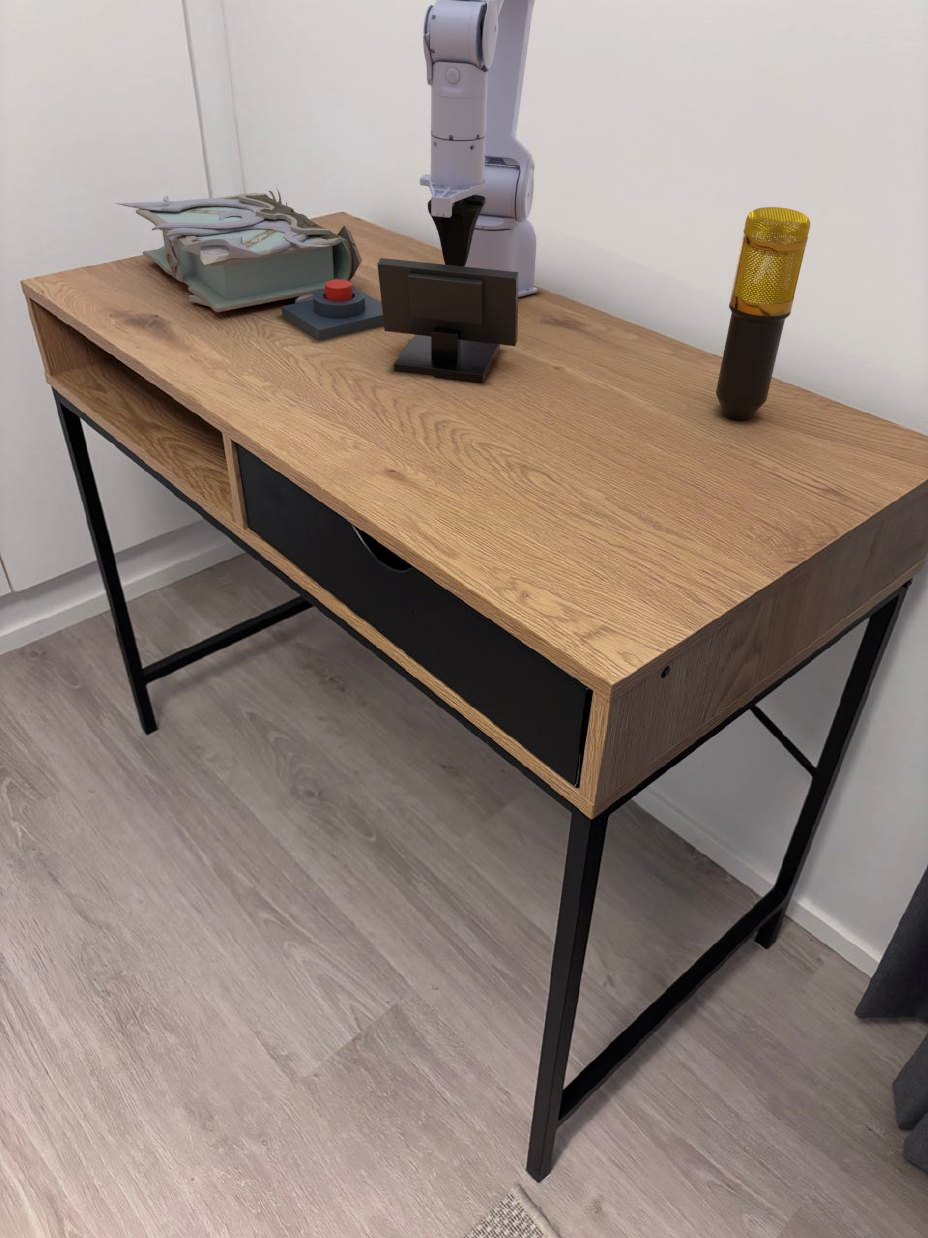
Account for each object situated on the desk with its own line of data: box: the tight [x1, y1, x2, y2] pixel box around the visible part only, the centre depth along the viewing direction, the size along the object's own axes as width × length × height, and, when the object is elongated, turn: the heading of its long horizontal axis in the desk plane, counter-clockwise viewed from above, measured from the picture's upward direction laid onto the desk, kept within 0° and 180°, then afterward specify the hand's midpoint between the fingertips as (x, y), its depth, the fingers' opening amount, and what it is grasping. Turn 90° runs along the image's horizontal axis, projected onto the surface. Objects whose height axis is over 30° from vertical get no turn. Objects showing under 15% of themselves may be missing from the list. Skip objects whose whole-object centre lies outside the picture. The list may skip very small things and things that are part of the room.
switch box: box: [281, 287, 384, 342], centre depth 120 cm, size 11×9×3 cm
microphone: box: [715, 206, 811, 421], centre depth 100 cm, size 6×13×20 cm, turn 34°
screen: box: [376, 257, 519, 347], centre depth 108 cm, size 2×15×8 cm, turn 77°
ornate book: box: [114, 188, 363, 313], centre depth 130 cm, size 23×10×30 cm
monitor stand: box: [393, 327, 501, 384], centre depth 111 cm, size 9×10×4 cm
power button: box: [325, 279, 353, 301], centre depth 119 cm, size 3×3×2 cm
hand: (455, 266), depth 112 cm, fingers closed
